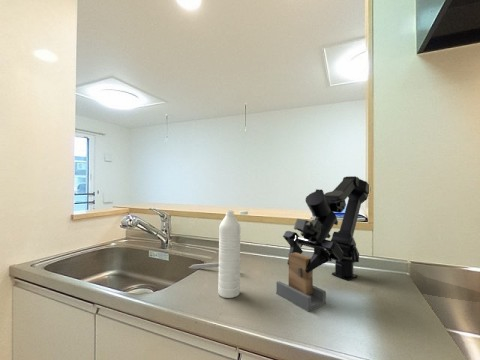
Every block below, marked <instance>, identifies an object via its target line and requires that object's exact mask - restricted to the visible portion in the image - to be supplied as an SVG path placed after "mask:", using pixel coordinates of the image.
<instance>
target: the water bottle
mask: <svg viewBox="0 0 480 360" xmlns="http://www.w3.org/2000/svg"><path fill="white" fill-rule="evenodd" d="M225 211H226V213H225V216H224V218H223V219H222V220H221V222H220V224H219V228H218V234H219V237H218V242H219V243H218V262H219V267H218V283H217V284H218V286H217V287H218V289H217V291H218V292H217V293H218V295H219V297H222V298H223V299H225V298H226V299H232V298H236V297H238V296H239V295H240V293H241V292H240V291H241V287H240V283H241V278H240V277H241V224H240V223H239V221H238V220H237V217H235V211H234V210H225ZM239 215H243V216H244V215H245V216H246V215H249V210H240V211H239Z"/></svg>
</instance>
